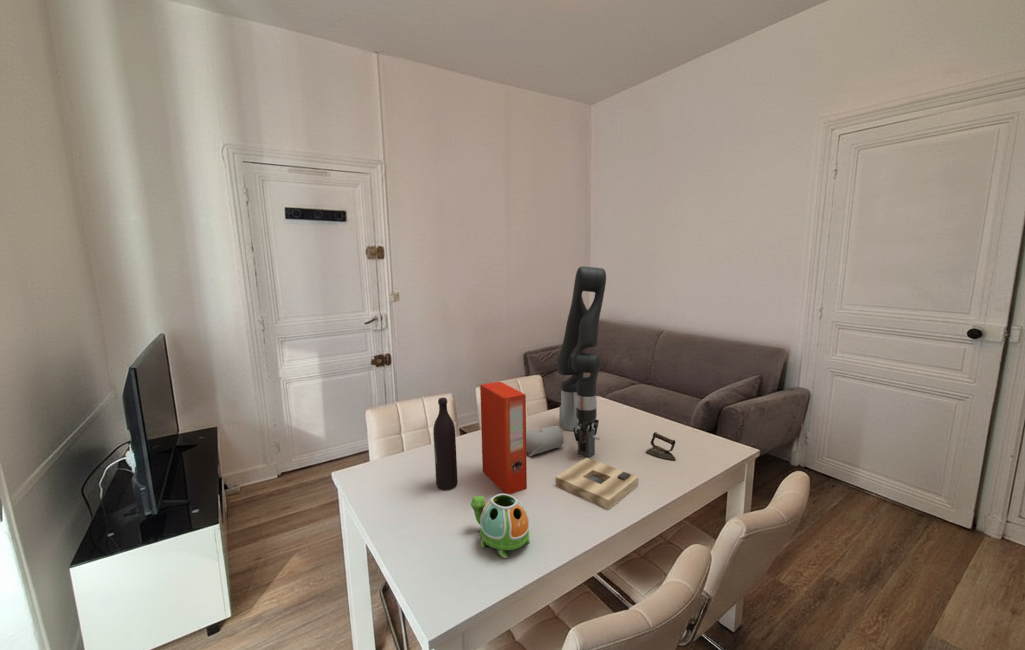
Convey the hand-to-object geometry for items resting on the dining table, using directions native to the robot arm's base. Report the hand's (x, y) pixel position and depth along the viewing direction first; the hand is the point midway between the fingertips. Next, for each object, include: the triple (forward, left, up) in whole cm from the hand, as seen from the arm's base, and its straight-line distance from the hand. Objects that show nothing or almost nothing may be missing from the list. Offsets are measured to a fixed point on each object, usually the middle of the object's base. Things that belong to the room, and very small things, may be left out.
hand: (586, 448), depth 156 cm
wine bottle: (-22, -49, -2) cm, 54 cm away
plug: (+2, 0, -2) cm, 3 cm away
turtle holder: (+11, -56, -3) cm, 57 cm away
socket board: (+15, -16, -2) cm, 22 cm away
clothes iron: (+22, +18, -3) cm, 28 cm away
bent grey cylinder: (-19, -10, -3) cm, 22 cm away
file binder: (-10, -34, -3) cm, 36 cm away
